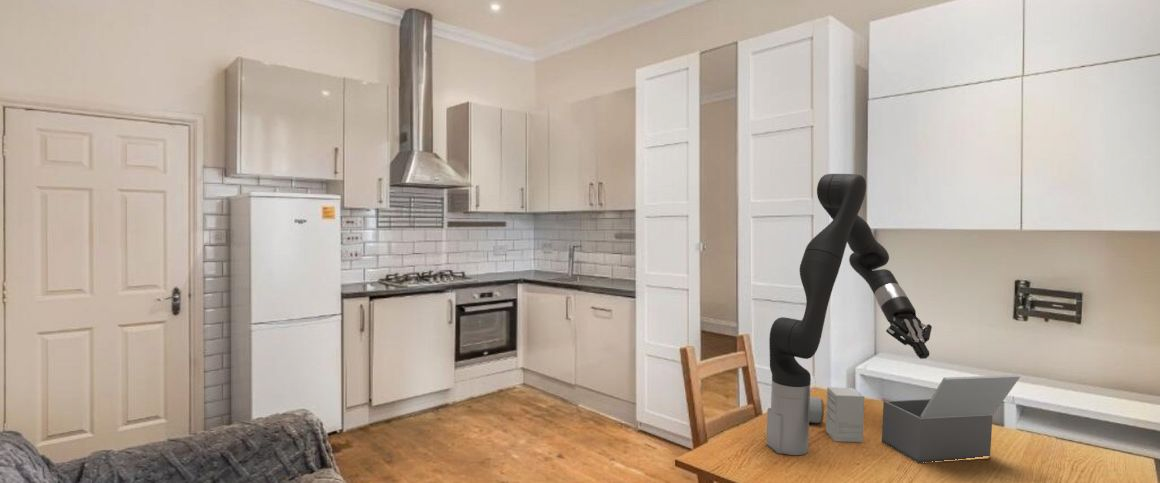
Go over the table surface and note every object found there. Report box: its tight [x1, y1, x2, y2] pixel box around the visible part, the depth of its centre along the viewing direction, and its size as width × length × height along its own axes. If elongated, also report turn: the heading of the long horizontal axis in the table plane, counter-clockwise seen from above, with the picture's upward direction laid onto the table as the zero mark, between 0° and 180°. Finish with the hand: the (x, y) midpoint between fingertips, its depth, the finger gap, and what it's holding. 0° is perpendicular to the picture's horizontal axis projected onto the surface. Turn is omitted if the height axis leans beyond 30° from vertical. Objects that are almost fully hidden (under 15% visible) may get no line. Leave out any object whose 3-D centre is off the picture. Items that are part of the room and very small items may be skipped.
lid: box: [921, 374, 1021, 418], centre depth 135 cm, size 20×13×1 cm
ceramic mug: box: [809, 395, 825, 424], centre depth 166 cm, size 11×8×8 cm
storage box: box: [881, 398, 993, 464], centre depth 145 cm, size 20×13×11 cm, turn 100°
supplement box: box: [825, 386, 865, 443], centre depth 153 cm, size 7×7×13 cm
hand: (925, 357), depth 149 cm, fingers closed
